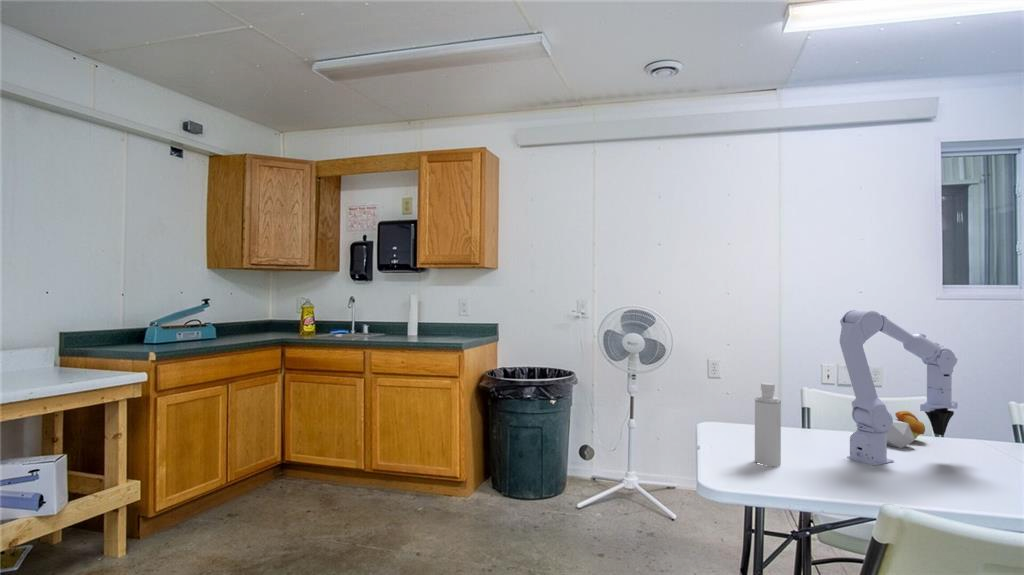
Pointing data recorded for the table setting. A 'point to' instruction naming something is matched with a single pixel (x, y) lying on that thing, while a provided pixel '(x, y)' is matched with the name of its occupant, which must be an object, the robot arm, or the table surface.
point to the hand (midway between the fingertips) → (939, 434)
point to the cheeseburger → (911, 422)
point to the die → (899, 434)
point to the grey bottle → (768, 427)
